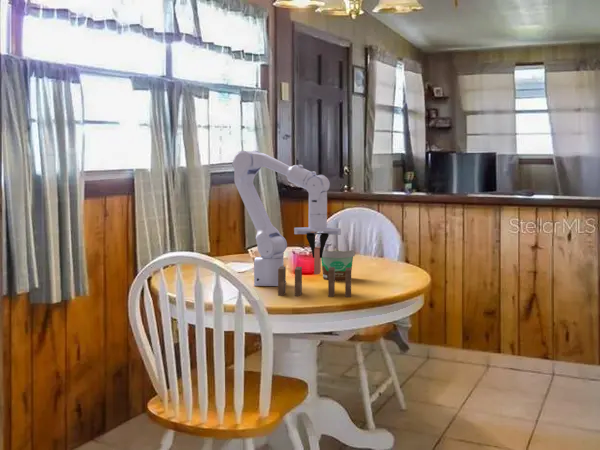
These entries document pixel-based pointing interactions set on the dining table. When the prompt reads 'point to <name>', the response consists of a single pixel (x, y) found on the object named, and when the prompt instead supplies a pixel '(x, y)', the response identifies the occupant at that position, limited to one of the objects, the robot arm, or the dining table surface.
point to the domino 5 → (348, 282)
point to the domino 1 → (281, 280)
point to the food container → (337, 263)
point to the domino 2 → (298, 281)
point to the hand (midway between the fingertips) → (317, 257)
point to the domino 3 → (317, 260)
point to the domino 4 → (331, 281)
